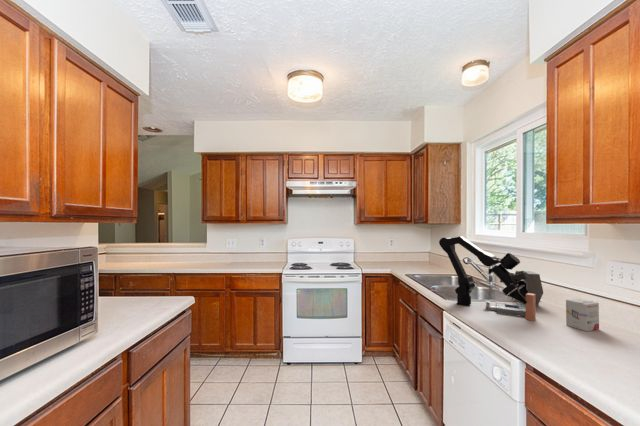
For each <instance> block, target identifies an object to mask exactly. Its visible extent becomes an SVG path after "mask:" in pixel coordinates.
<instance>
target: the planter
mask: <svg viewBox="0 0 640 426" xmlns="http://www.w3.org/2000/svg"><path fill="white" fill-rule="evenodd" d="M520 271H521V270H515V273H514V275H516V274H519V272H520ZM523 271H524V272H526V273H528V277H529V278H527V279H524V280H526V281H527V282H528V283H527V284H528V286H527V289H528V291H529V293H532V294H536V306H538V305H539V304H540V302H541V299H542V297H543V295H544V289H543V288H544V287H543V285H542V280H541V276H540V273H537V272H534V271H529V270H523ZM522 296H523V295H522ZM523 297H524V299H525V300H526V297H525V296H523ZM514 300H515V301H517V302H519V304H522V305H526V304H525V303H523V302H521V301H519V300H516V299H514Z"/></svg>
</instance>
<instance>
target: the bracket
mask: <svg viewBox="0 0 640 426" xmlns="http://www.w3.org/2000/svg"><path fill="white" fill-rule="evenodd" d="M490 302H491V301H489V300H485V304H486V305H485V310H486V309H487V311H493V310H494V311H495V312H497V307H496V305H495V306H493V305H491V303H490Z"/></svg>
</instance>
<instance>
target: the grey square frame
mask: <svg viewBox="0 0 640 426" xmlns="http://www.w3.org/2000/svg"><path fill="white" fill-rule="evenodd" d="M495 307H497V311H496V313H497V314H501V313H502V315H503V314H504V315H511V316H517V317H525V318H526V304H522V303H513V302H512V303H511V302H503V301H495Z"/></svg>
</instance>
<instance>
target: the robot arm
mask: <svg viewBox="0 0 640 426" xmlns="http://www.w3.org/2000/svg"><path fill="white" fill-rule="evenodd" d="M438 243H439V246H440V247H441V249H442V250H443V251H444V252H445V253H446V255H447V257H448V259H449V261H450V263H451V265H452V268H453V269H454V271H455V274H456V275H457V283H458V287H456V288H455V289H454V291H455V293H456V297H457V299H456V306H457V305H459V306H467V307H470V305H471V304H472V296H471V295H470V294H471V293H472V291H473V290H475V287H476V285H475V284H476V282H475V281H474V278H473V276H472V275H470V276H469V275H468V274H467V273H466V270H465V268H464V267H463V263H462V262H461V260H460V258H459V256H458V254H457V252H456V245H457V244H458V245H460V246H461V247H463V248H464V249H465V250H467V251H468V252H470V253H471V254H472V255H474V256H476V257H477V259H478V260H479V261H480V263H481V264H482V265H483V266H485V267H490V268H488V275H489V274H490V275H491V274H492V273H493V274H494V275H495V276H496V277H497V278H498V279H499V282H500V283H503V285H504V286H506V287H504V288H503V289H502V293H503V294H504V295H505V296H508V297H509V298H512V299H514V300H515V299H516V300H515V301H517V300H519V301H521V302H523V303H525V304H524V305H526V303H527V301H526V300H525V299H524V297H523V296H525V297H526V294H527V293H529V291H528V289H527V286H528V284H527V283H528V282H527V281H526V280H524V279H527V278H529V277H528V273H526V272H524V271H525V270H519V271H520V272H519V274H516V275H515V273H512V272H511V273H510V272H509V270H513V269H514V268H515V267H517V266H519V264H520V263H521V260H520V259H519V258H518V257H517V256H515V255H514V254H512V253H511V252H507V253H505V255H504V256H503V257H502V258H501V257H497V256H496V255H494V254H493V253H490V252H487V251H485V250H483V249H481V248H479V247H478V246H477V245H475V244H474V243H472V242H471V241H470V240H467V239H466V238H465V237H464V236H457V237H450V236H448V237H441V238H440V239H439V241H438ZM522 295H523V296H522Z"/></svg>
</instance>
